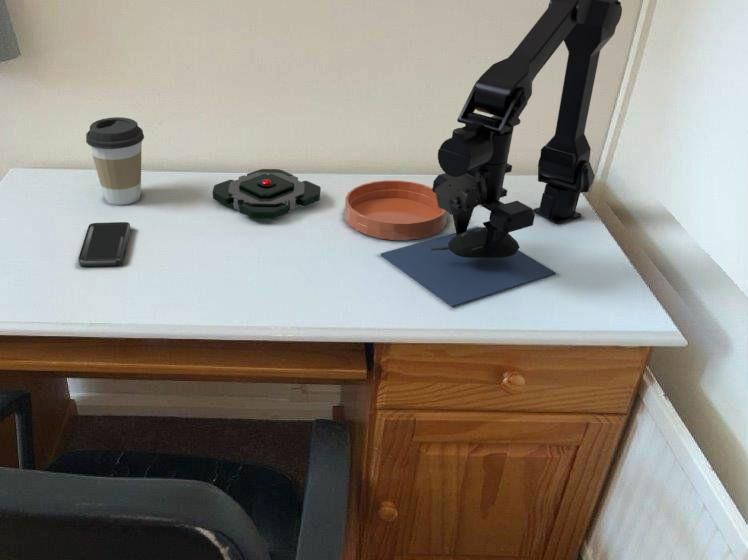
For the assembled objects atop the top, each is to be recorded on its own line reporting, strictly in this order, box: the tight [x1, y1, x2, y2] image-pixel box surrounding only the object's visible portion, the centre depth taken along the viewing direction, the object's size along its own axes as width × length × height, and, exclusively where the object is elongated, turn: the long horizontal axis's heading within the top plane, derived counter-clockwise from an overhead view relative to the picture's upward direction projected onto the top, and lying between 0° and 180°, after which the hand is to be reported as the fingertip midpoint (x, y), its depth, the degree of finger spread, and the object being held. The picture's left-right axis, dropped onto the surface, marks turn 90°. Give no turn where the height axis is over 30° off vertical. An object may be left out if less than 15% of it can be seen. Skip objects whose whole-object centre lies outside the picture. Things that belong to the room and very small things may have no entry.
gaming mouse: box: [431, 226, 520, 258], centre depth 131 cm, size 6×15×4 cm, turn 90°
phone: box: [77, 221, 132, 268], centre depth 141 cm, size 8×1×15 cm
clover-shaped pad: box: [211, 168, 321, 220], centre depth 155 cm, size 18×18×5 cm
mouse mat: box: [380, 226, 557, 308], centre depth 134 cm, size 22×20×1 cm
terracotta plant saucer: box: [344, 179, 449, 241], centre depth 148 cm, size 19×19×4 cm
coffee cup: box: [85, 116, 145, 206], centre depth 154 cm, size 11×11×15 cm
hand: (473, 246), depth 131 cm, fingers closed on gaming mouse, 7 cm apart
